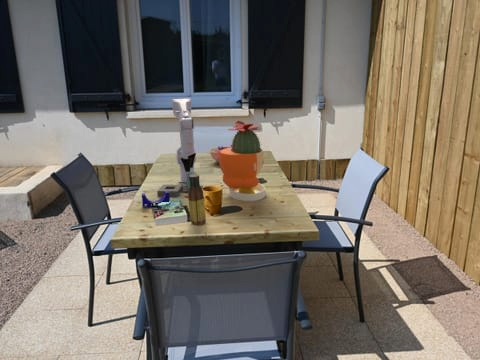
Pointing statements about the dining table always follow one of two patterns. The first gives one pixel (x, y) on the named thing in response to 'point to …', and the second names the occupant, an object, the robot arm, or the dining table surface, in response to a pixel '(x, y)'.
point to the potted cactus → (243, 164)
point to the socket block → (170, 190)
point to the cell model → (217, 152)
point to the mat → (187, 190)
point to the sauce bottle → (196, 201)
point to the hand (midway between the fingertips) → (189, 169)
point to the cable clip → (164, 199)
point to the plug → (188, 179)
